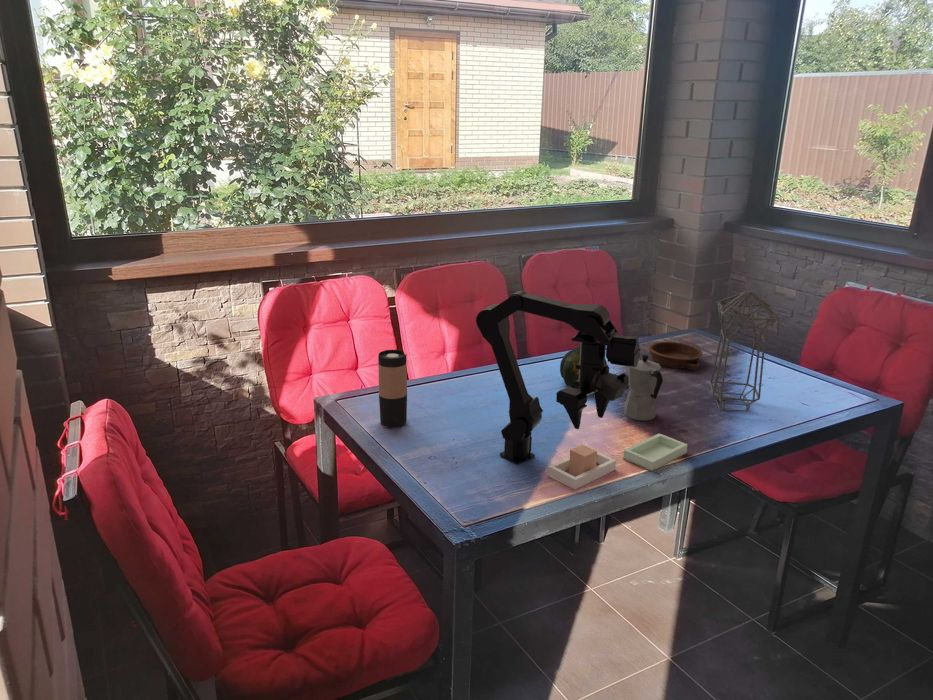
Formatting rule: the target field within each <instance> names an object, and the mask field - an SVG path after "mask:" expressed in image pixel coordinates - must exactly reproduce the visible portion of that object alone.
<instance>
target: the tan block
mask: <svg viewBox="0 0 933 700" xmlns="http://www.w3.org/2000/svg"><path fill="white" fill-rule="evenodd" d="M597 452H598V450H596V449H594V448H591V447H588V446H587V445H585V444H580V445H579V446H576V447H574V448H572V449H570V450H569V457H570V460H569V469H568V474H570V475H572V476H574V477H576V476H578V475H580V474H582V473H584V472H587V471H589V470H591V469H593V468H595V467H597V463H596V458H597Z"/></svg>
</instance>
